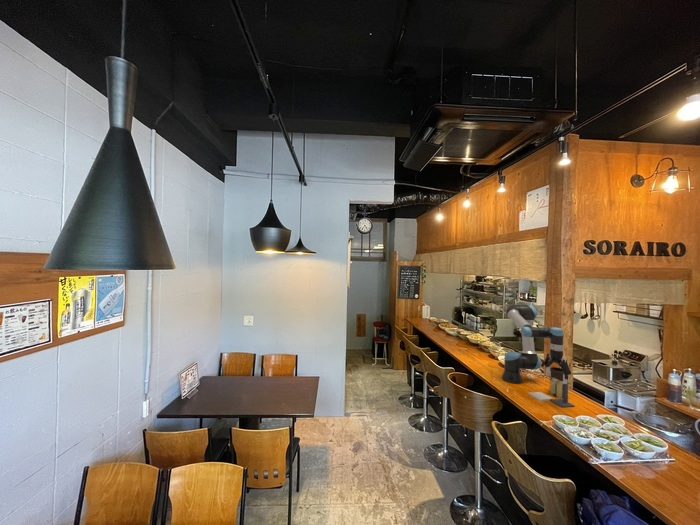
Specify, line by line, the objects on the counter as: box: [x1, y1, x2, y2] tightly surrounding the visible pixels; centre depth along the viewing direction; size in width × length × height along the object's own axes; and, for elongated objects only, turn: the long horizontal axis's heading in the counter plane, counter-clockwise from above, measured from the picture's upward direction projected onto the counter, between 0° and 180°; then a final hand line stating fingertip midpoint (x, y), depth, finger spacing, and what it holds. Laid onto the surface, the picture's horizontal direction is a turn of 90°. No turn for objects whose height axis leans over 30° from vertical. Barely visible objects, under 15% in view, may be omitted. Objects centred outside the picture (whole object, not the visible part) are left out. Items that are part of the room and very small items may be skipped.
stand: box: [549, 378, 575, 409], centre depth 203 cm, size 10×13×19 cm
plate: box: [527, 391, 554, 402], centre depth 213 cm, size 11×11×1 cm
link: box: [549, 377, 562, 399], centre depth 202 cm, size 7×3×11 cm, turn 11°
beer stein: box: [548, 366, 564, 399], centre depth 220 cm, size 15×11×20 cm
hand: (556, 379), depth 202 cm, fingers open, 13 cm apart
